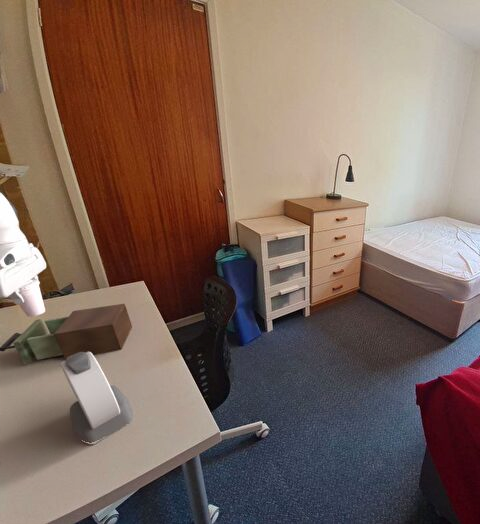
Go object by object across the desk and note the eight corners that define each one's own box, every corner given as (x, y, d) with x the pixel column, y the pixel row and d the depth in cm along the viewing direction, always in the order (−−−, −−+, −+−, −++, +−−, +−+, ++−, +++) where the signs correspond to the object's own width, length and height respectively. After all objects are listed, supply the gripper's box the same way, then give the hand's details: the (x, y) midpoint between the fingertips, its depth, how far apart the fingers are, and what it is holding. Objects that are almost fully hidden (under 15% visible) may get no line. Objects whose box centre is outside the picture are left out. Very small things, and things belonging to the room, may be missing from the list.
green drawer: (1, 368, 78) (-13, 346, 75) (25, 343, 88) (14, 322, 85) (80, 353, 84) (71, 332, 81) (94, 331, 94) (87, 312, 91)
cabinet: (65, 360, 83) (53, 334, 79) (83, 335, 94) (73, 310, 90) (121, 349, 88) (112, 324, 84) (132, 326, 99) (124, 303, 95)
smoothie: (13, 317, 79) (-10, 272, 73) (41, 305, 85) (21, 263, 79) (30, 321, 78) (7, 275, 72) (57, 308, 83) (38, 266, 78)
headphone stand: (141, 421, 66) (119, 362, 59) (85, 457, 59) (51, 393, 51) (118, 387, 75) (95, 331, 68) (66, 414, 67) (35, 354, 60)
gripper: (14, 240, 81) (34, 282, 86) (-42, 267, 64) (-13, 318, 69) (43, 238, 83) (60, 279, 89) (-4, 264, 66) (21, 313, 72)
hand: (28, 296), depth 79 cm, fingers closed on smoothie, 5 cm apart
